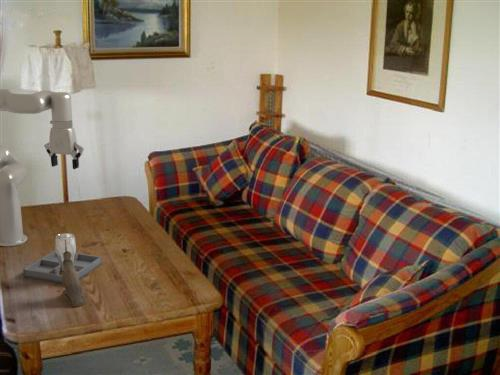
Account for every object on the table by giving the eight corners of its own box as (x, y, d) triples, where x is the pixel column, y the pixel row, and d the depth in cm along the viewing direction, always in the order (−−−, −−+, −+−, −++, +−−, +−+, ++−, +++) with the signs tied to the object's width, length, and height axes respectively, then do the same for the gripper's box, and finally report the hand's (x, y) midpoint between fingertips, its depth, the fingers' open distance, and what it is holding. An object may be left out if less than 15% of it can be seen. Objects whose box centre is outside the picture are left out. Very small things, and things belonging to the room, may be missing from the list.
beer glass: (71, 279, 229) (69, 240, 225) (54, 277, 231) (51, 238, 227) (80, 272, 236) (78, 234, 232) (63, 270, 237) (61, 232, 233)
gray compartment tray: (23, 276, 233) (23, 269, 233) (56, 256, 252) (56, 249, 251) (71, 285, 227) (71, 277, 226) (101, 264, 246) (101, 256, 245)
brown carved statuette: (62, 301, 221) (54, 250, 219) (77, 297, 224) (70, 247, 222) (72, 308, 211) (64, 255, 209) (88, 304, 214) (80, 252, 212)
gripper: (37, 124, 248) (40, 167, 253) (76, 128, 243) (78, 171, 248) (49, 121, 255) (52, 162, 260) (87, 124, 249) (89, 167, 254)
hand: (65, 167), depth 254 cm, fingers open, 9 cm apart
